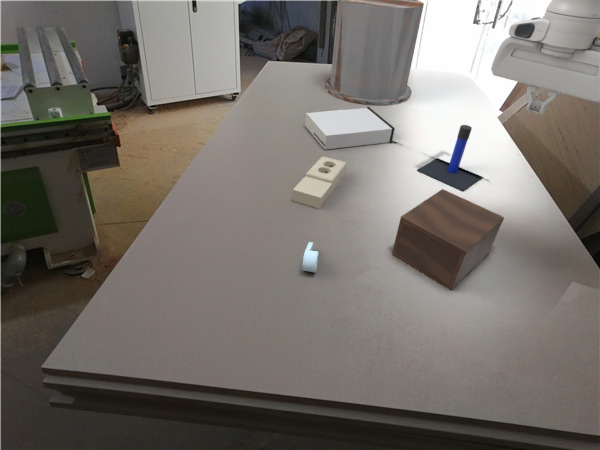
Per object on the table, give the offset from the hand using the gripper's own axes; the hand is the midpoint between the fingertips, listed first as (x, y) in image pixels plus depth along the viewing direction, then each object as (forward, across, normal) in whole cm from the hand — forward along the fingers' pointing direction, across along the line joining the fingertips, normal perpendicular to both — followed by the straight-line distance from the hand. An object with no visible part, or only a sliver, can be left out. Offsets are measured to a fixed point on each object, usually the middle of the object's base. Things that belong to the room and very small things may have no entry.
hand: (534, 111), depth 77 cm
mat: (+27, +18, -16) cm, 36 cm away
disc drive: (+27, +53, -12) cm, 61 cm away
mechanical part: (+27, +18, +40) cm, 52 cm away
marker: (+27, +18, -16) cm, 36 cm away
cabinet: (+27, +2, +18) cm, 33 cm away
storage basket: (+27, +76, -52) cm, 96 cm away
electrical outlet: (+27, +36, +18) cm, 49 cm away
